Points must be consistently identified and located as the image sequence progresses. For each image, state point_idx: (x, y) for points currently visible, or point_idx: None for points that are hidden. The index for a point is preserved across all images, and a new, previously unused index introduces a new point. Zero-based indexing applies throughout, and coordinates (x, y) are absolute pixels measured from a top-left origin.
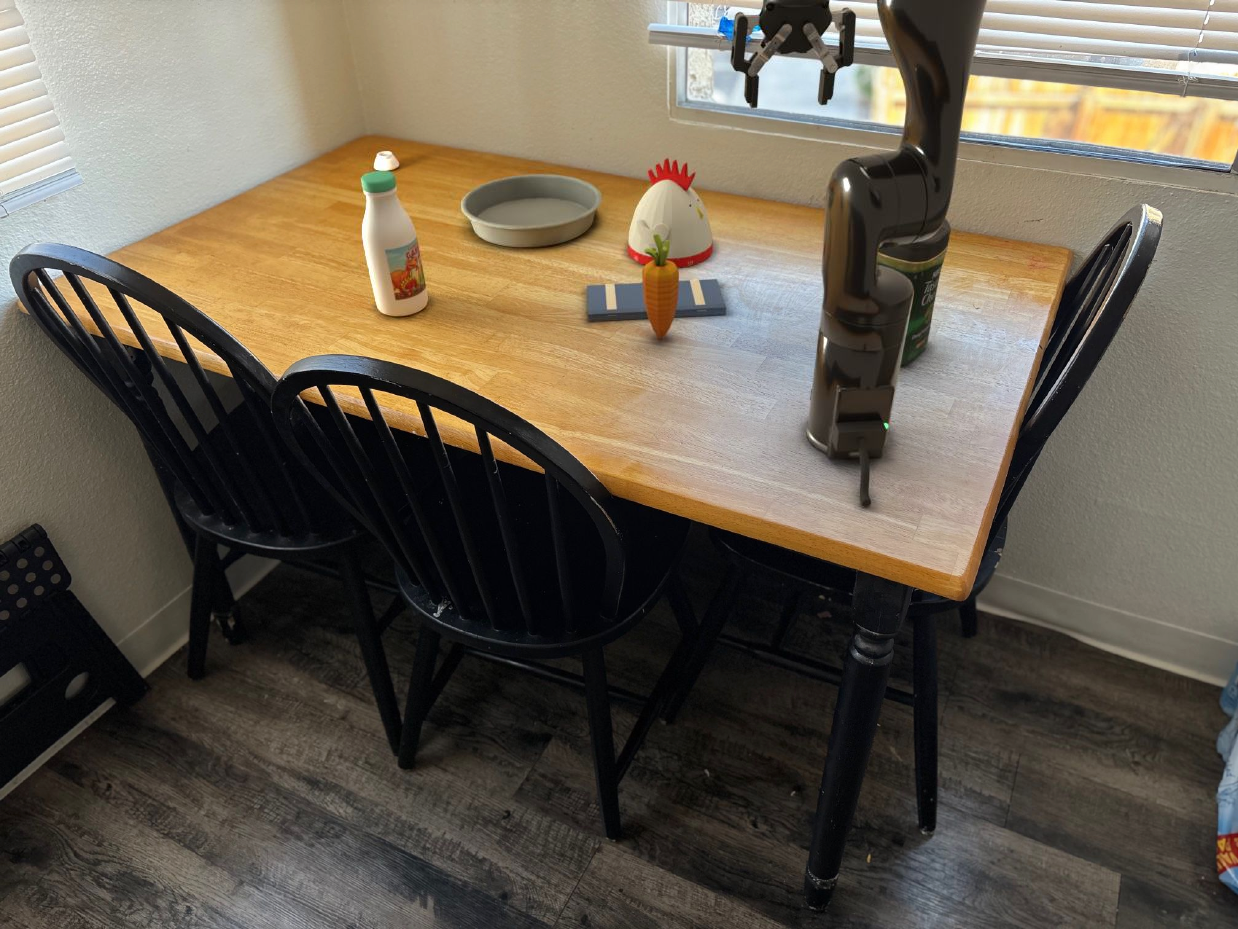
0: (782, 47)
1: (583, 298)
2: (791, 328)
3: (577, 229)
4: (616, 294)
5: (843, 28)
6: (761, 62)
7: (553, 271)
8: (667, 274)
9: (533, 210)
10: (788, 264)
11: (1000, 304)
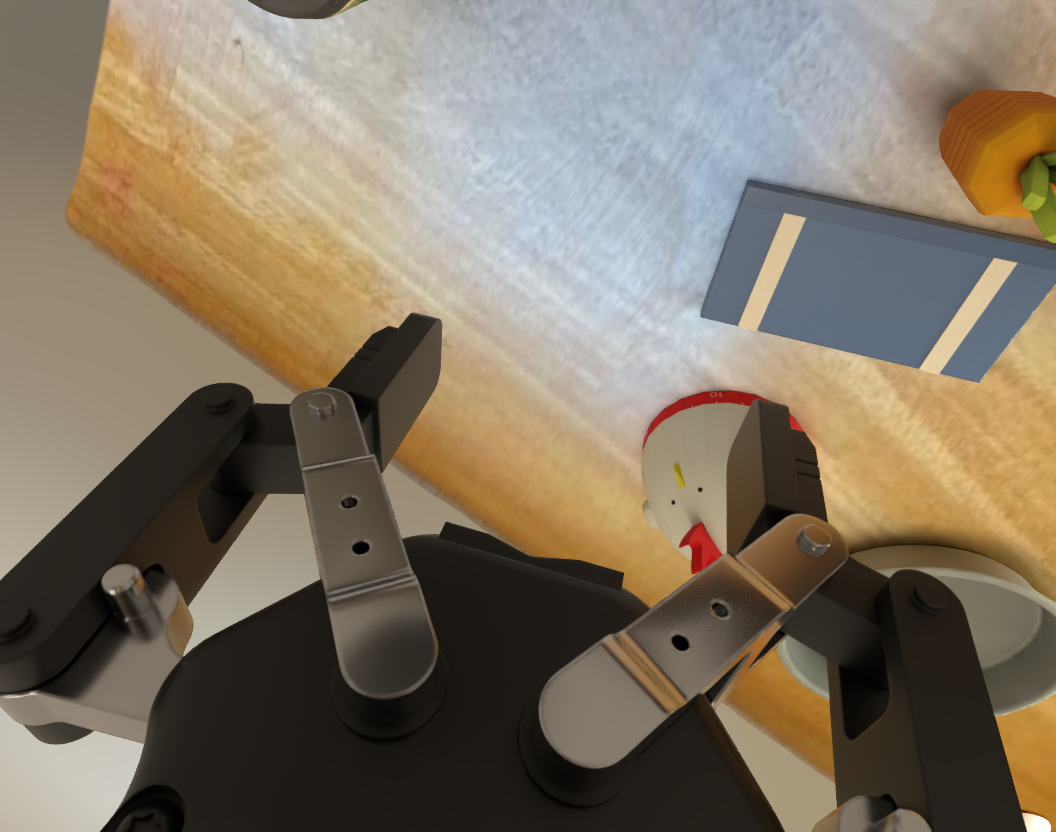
0: (611, 604)
1: (1007, 348)
2: (635, 69)
3: (865, 559)
4: (943, 326)
5: (124, 567)
6: (765, 565)
7: (990, 465)
8: (1047, 113)
9: None
10: (536, 333)
11: (192, 46)
